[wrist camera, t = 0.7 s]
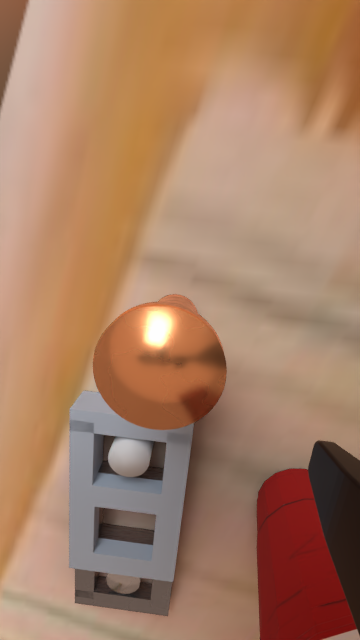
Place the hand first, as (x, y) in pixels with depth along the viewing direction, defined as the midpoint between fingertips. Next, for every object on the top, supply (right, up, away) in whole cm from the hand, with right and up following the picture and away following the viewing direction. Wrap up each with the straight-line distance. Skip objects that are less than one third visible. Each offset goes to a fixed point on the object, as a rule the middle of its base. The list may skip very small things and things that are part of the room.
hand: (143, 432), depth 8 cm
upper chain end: (-3, -9, +15) cm, 18 cm away
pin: (+1, +3, +12) cm, 12 cm away
